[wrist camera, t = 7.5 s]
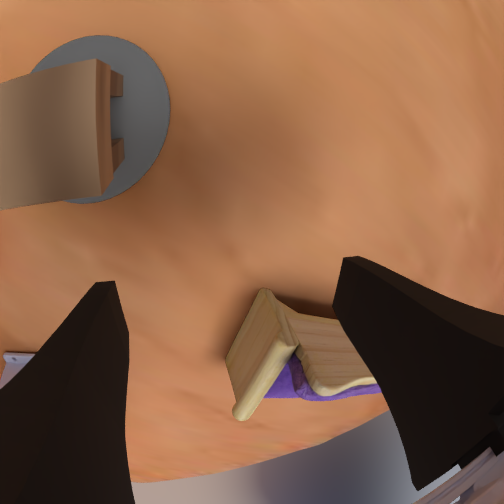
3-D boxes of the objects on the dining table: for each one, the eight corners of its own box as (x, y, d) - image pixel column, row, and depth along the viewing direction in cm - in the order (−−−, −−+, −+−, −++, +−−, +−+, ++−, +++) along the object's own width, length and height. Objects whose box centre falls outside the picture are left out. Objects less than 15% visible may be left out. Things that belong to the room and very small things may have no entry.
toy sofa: (215, 359, 26) (242, 460, 17) (252, 282, 22) (303, 393, 14) (373, 365, 34) (413, 425, 25) (413, 312, 31) (465, 371, 22)
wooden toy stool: (48, 170, 14) (-4, 211, 8) (43, 88, 11) (-17, 89, 6) (126, 160, 15) (101, 195, 10) (125, 73, 13) (96, 58, 7)
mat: (26, 208, 15) (23, 212, 14) (16, 57, 10) (12, 57, 10) (171, 192, 17) (171, 196, 17) (173, 29, 13) (173, 26, 12)
